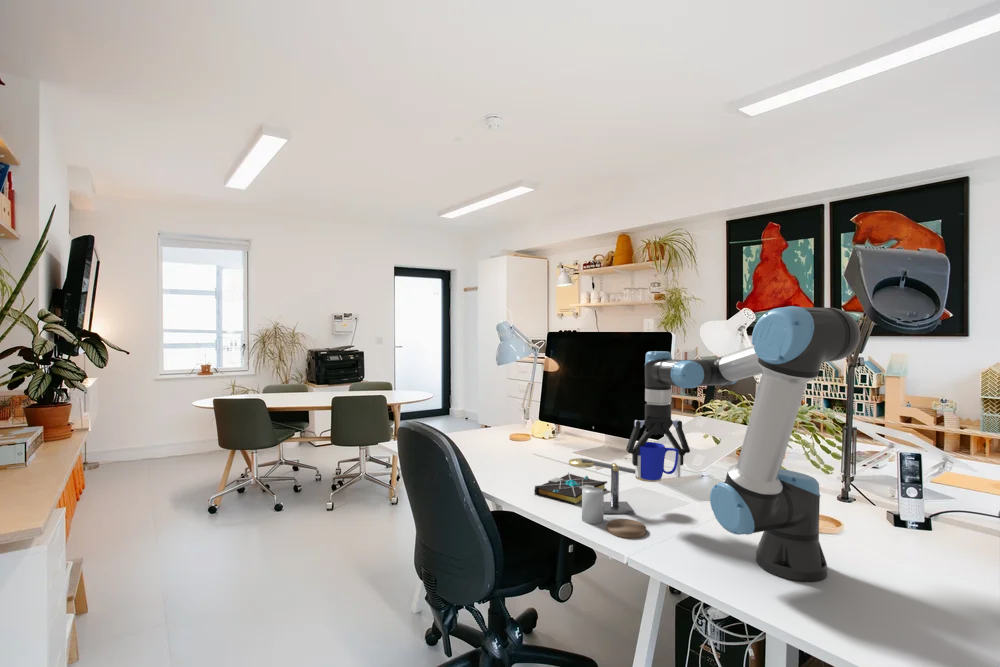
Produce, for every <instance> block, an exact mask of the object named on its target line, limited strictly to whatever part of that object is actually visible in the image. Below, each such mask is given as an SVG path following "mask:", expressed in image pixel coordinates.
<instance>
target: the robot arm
mask: <svg viewBox="0 0 1000 667" xmlns="http://www.w3.org/2000/svg"><path fill="white" fill-rule="evenodd" d="M860 341H861V329H860V326H859V324H858V322H857V321H856V319H855V317H853V316H852V315H851V314H850V313H848V312H846V311H844V310H841V309H840V308H837V307H815V306H813V307H811V306H810V307H808V306H807V307H806V306H795V305H791V306H790V305H789V306H784V307H777V308H772V309H770V310H769V311H767V312H765V313H764V314H763V315H762V316H760V317H759V319H758V320H757V322H756V323H755V325H754V327H753V331H752V333H751V343H752V346H748V347H746V348H743V349H741V350H740V349H739V350H737V351H734V352H731V353H728V354H725V355H724V356H723V355H722V356H720V357H715V358H713V359H712V358H710V359H673V358H672V353H671V352H670V351H663V350H662V351H661V350H660V351H657V350H655V351H654V350H653V351H650V350H649V351H647V352H646V353H645V363H644V401H645V402H646V403H645V404H644V419H643V420H638V419H634V421H633V428H632V432H631V435H630V437H629V440H628V442H627V446H626V449H625V451H626V452H627V453H629V454H631V455H632V456H631V457H632V459H631V460H632V461H631V462H632V463H631V464H632V465H633V466H635V468H634V469H635V474H634V475H635V476H637V477H638V478H641V456H640V455H638V454H639V452H640V446H641V447H643V446H644V445H645V443H646V442H648V440H649V439H650V438H651V437H652V435H653V436H657V435H661V436H666V438H667V439H668V440H669V442H670V443H671V445H672V447H673V448H675V449H678V462H677V467H676V470H675V471H674V476H675V477H676V478H681V466H684V457H685V455H686V454H688V453H690V452H691V449H690V446H689V444H688V441H687V438H686V435H685V433H684V430H683V421H681V420H679V419H675V420H672V405H671V403H672V386H673V387H678V388H681V389H695V388H697V387H705V386H729V385H734V384H736V383H737V382H738V381H740V380H745V379H747V378H750V377H751V378H752V377H754V376H758V375H761V376H760V381H759V384H758V388H757V392H756V395H755V399H754V402H753V405H752V410H751V413H750V416H749V420H748V424H747V427H746V430H745V431H746V432H745V434H744V438H743V442H742V445H741V449H740V452H739V456H738V460H737V463H735V464H733V465H731V466H729V467H728V469H727V473H726V476H725V479H724V481H723V482H718V483H716V484H715V485H713V486H712V488H711V489H710V494H709V501H710V502H709V504H710V507H711V510H712V512H713V515H714V517H715V519H716V520H717V523H719V525H720V526H721V527H722V529H724V530H726V531H727V532H729V533H731V534H733V535H752V534H756V533H762V532H763V533H762V535H761V538H760V540H759V542H758V546H757V547H756V551H755V561H756V564H757V565H758V567H760V568H761V569H763V570H764V571H766V572H768V573H770V574H772V575H775V576H777V577H780V578H783V579H788V580H791V581H798V582H819V581H822V580H824V579H825V578H827V576H828V564H827V560H826V558H825V554H824V552H823V548H822V546H821V543H820V507H821V506H820V503H821V502H820V499H821V494H820V483H819V482H818V480H817V479H816V478H815V477H813V476H811V475H808V474H806V473H801V472H797V471H794V470H789V469H783V468H782V466H783V465H782V464H783V462H784V459H785V455H786V453H787V449H788V445H789V442H790V438H791V436H792V432H793V429H794V426H795V423H796V420H797V416H798V413H799V409H800V407H801V403H802V399H803V397H804V393H805V389H806V387H807V384H808V383H809V382H811V381H813V380H815V379H817V378H818V376H819V373H820V371H821V367H822V364H823V363H827V362H836V361H840V360H843V359H845V358H848V357H849V356H850V355H852V354H853V353H854V352H855V351H856V349H858V346H859V344H860ZM643 426H644V427H645V429H644V431H643V434H642V435H641V437H640V438H639V439H638V437H639V435H640V432H641V429H642V428H643ZM672 426H673V427H674V428H675V432H676V434H677V436H678V440H679V442H680V444H679V442H678V441H677V440H676V438H675V436H674V435H673V432H671V430H670V429H671V428H672ZM637 439H638V441H637ZM675 457H676V452H675V453H674V458H675Z"/></svg>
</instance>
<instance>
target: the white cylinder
mask: <svg viewBox="0 0 1000 667" xmlns="http://www.w3.org/2000/svg"><path fill="white" fill-rule="evenodd" d="M604 493H605V490H604V491H603V490H602V489H600V488H596V487H586V488H583V489H582V501H581V521H582V522H584V523H586V524H588V525H599V524H602V523H604V517H605V516H604V515H605V514H604V502H605V501H604V500H605V499H604V497H605V494H604Z"/></svg>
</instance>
